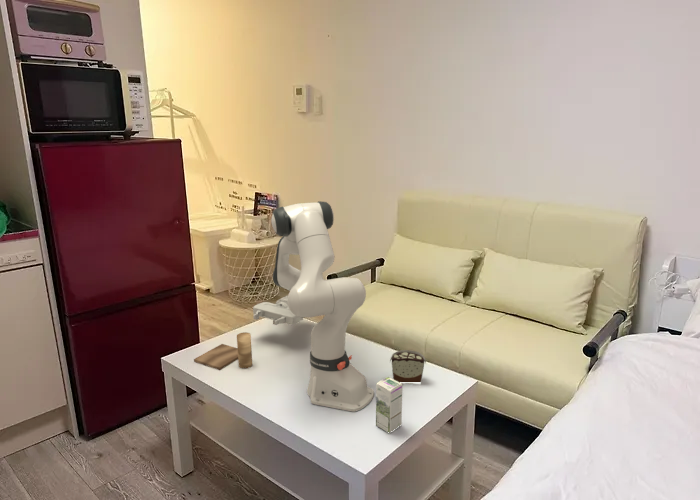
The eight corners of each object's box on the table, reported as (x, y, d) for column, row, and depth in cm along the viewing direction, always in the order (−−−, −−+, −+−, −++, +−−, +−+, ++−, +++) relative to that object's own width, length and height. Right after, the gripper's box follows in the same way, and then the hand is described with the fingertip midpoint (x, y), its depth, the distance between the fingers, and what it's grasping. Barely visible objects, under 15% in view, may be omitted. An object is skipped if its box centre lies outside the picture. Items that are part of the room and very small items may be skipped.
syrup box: (402, 426, 151) (403, 382, 147) (389, 434, 147) (390, 390, 143) (387, 418, 155) (388, 375, 151) (374, 426, 151) (375, 382, 147)
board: (247, 353, 196) (247, 351, 195) (220, 370, 183) (219, 367, 183) (222, 346, 202) (222, 343, 202) (194, 361, 189) (193, 359, 189)
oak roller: (255, 363, 188) (253, 334, 184) (246, 369, 183) (244, 339, 180) (244, 360, 190) (243, 331, 187) (235, 366, 186) (233, 336, 183)
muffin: (424, 375, 179) (425, 350, 177) (425, 384, 174) (426, 358, 171) (389, 374, 181) (390, 348, 178) (389, 382, 175) (389, 356, 172)
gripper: (265, 295, 209) (243, 307, 198) (306, 305, 200) (285, 318, 188) (265, 310, 211) (243, 322, 199) (306, 320, 202) (286, 333, 190)
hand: (264, 320), depth 194 cm, fingers open, 8 cm apart
